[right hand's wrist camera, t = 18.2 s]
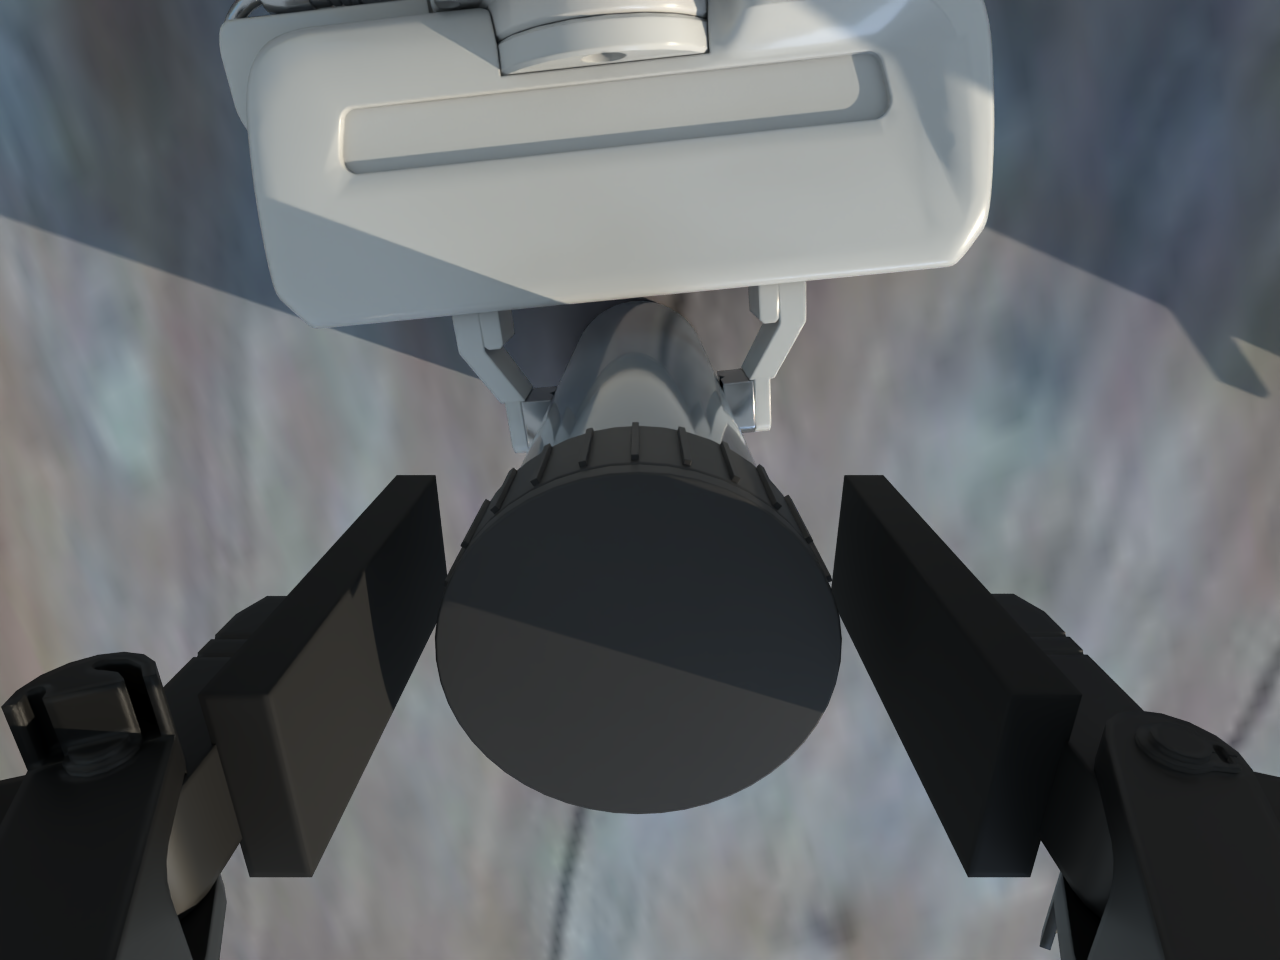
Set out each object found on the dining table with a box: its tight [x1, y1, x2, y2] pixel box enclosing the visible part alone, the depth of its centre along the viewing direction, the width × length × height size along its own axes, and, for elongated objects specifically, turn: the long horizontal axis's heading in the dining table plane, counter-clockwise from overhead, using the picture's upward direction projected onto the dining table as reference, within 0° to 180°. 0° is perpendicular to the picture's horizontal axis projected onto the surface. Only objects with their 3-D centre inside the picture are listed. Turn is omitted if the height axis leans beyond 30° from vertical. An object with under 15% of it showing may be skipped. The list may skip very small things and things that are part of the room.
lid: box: [435, 422, 842, 814], centre depth 11 cm, size 6×6×2 cm
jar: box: [521, 301, 757, 467], centre depth 20 cm, size 5×5×19 cm
